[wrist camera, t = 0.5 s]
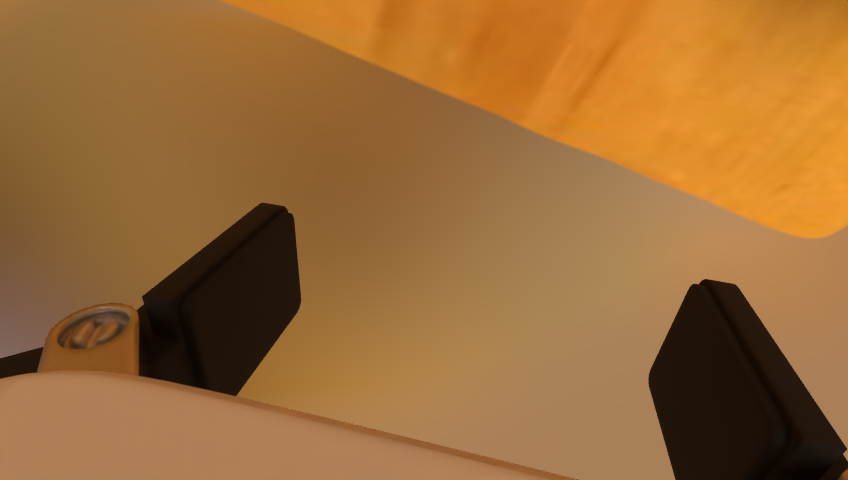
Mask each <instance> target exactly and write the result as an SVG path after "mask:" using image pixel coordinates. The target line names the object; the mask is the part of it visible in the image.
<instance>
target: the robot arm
mask: <svg viewBox="0 0 848 480" xmlns="http://www.w3.org/2000/svg"><path fill="white" fill-rule="evenodd" d="M142 298H143V302H144V305H143V306H141V307H140V308H139V309H138V310H135V309H134V308H133V307H132V306H129V305H125V304H121V303H107V304H99V305H95V306H91V307H88V308H84V309H81V310H79V311H77V312H75V313H72V314H70V315H69V316H67V317H66V318H64V319H62V320H61V321H59V322H58V323H57V324H56V325H55V326H54V327H53V328H52V329H51V330H50V331H49V333H48V336H47V337H46V340H45V344H44V347H41V348H37V349H34V350H30V351H26V352H23V353H19V354H16V355H12V356H8V357H4V358H0V480H577V479H573V478H569V477H565V476H561V475H557V474H553V473H549V472H545V471H541V470H537V469H533V468H529V467H525V466H521V465H517V464H513V463H509V462H505V461H501V460H497V459H493V458H489V457H485V456H481V455H477V454H473V453H469V452H465V451H461V450H457V449H452V448H448V447H444V446H440V445H436V444H432V443H428V442H424V441H420V440H415V439H412V438H407V437H403V436H399V435H395V434H391V433H387V432H383V431H379V430H375V429H370V428H367V427H362V426H358V425H354V424H350V423H346V422H341V421H337V420H333V419H329V418H325V417H320V416H316V415H312V414H308V413H304V412H300V411H296V410H291V409H287V408H283V407H279V406H275V405H270V404H266V403H262V402H258V401H254V400H249V399H245V398H241V397H237V396H236V395H237V394H238V393H239V391H240V390H241V389H242V387H243V386H244V384H245V383H246V382H247V380H248V379H249V378H250V376H251V375H252V374H253V372H254V371H255V369H256V368H257V366H258V365H259V364H260V362H261V361H262V360H263V358H264V357H265V356H266V354H267V353H268V352H269V350H270V349H271V347H272V346H273V345H274V343H275V342H276V341H277V339H278V338H279V336H280V335H281V334H282V333H283V331H284V330H285V328H286V327H287V325H288V324H289V323H290V322H291V320H292V319H293V317H294V316H295V315H296V313H297V312H298V310H299V307H300V303H301V293H300V283H299V270H298V259H297V248H296V237H295V224H294V217H293V215H292V214H291V213H288V210H287V209H286V208H285V207H284V206H279V205H273V204H267V203H261V204H259V205H258V206H256V207H255V208H254V209H253V210H251V211H250V212H249V213H247V214H246V215H245V216H244V217H242V218H241V219H240V220H239V221H237V222H236V223H235V224H234V225H232V226H231V227H230V228H228V229H227V230H226V231H225V232H223V233H222V234H221V235H220V236H218V237H217V238H216V239H215V240H213V241H212V242H211V243H209V244H208V245H207V246H206V247H204V248H203V249H202V250H201V251H199V252H198V253H197V254H195V255H194V256H193V257H192V258H191V259H189V260H188V261H187V262H185V263H184V264H183V265H181V266H180V267H179V268H178V269H177V270H175V271H174V272H173V273H171V274H170V275H169V276H168V277H166V278H165V279H164V280H162V281H161V282H160V283H159V284H157V285H156V286H155V287H154V288H152V289H151V290H150V291H149V292H147V293H146V294H145V295H143V296H142ZM649 388H650V391H651V395H652V398H653V402H654V405H655V409H656V412H657V416H658V419H659V423H660V426H661V430H662V434H663V437H664V440H665V444H666V448H667V451H668V455H669V458H670V462H671V465H672V469H673V472H674V476H675V479H676V480H848V461H847V460H846V458H845V457H844V455H843V453H844V452H845V451H846V450H847V448H846V447H845V445H844V444H843V442H842V441H841V439H840V438H839V436H838V435H837V433H836V432H835V430H834V429H833V427H832V426H831V424H830V423H829V421H828V420H827V418H826V417H825V415H824V414H823V412H822V411H821V410H820V408H819V406H818V405H817V404H816V402H815V401H814V399H813V398H812V396H811V395H810V393H809V392H808V390H807V389H806V387H805V386H804V384H803V383H802V381H801V380H800V378H799V377H798V375H797V374H796V372H795V371H794V369H793V368H792V366H791V365H790V364H789V362H788V360H787V359H786V357H785V356H784V355H783V353H782V352H781V350H780V349H779V347H778V346H777V344H776V343H775V341H774V340H773V338H772V337H771V335H770V334H769V332H768V331H767V329H766V328H765V326H764V325H763V323H762V322H761V320H760V319H759V317H758V316H757V314H756V313H755V312H754V310H753V308H752V307H751V306H750V304H749V303H748V301H747V300H746V298H745V297H744V295H743V294H742V292H741V291H740V289H739V288H738V287H737V286H736V285H735V284H731V283H725V282H720V281H714V280H708V279H705V280H702V281H701V282H700V283H699V284H693V285H692V286H690V288H689V290H688V292H687V294H686V296H685V298H684V300H683V302H682V305H681V306H680V309H679V311H678V313H677V315H676V317H675V319H674V321H673V323H672V325H671V328H670V330H669V332H668V334H667V336H666V338H665V340H664V342H663V344H662V346H661V349H660V351H659V353H658V355H657V357H656V359H655V361H654V363H653V366H652V368H651V370H650V373H649Z"/></svg>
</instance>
